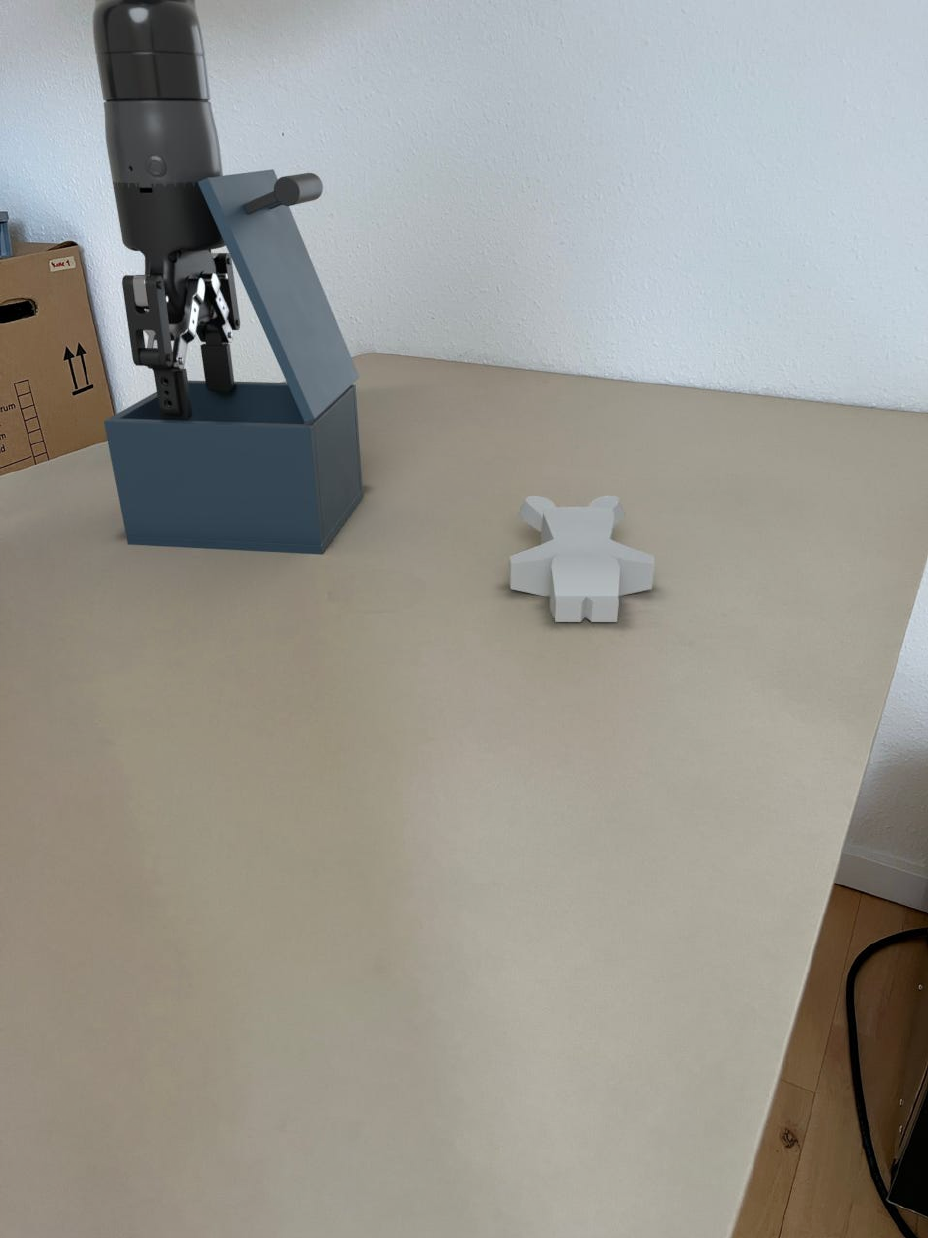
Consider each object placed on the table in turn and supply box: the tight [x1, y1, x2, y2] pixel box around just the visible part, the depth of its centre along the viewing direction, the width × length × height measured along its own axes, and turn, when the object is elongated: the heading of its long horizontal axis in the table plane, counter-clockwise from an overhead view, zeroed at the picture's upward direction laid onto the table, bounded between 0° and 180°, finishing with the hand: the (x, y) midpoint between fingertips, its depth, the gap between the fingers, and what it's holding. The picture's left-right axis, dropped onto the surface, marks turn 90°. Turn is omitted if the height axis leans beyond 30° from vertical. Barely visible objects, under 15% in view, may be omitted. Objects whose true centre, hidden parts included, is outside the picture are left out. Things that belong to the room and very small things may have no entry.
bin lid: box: [198, 169, 360, 423], centre depth 68 cm, size 16×13×5 cm
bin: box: [103, 380, 364, 556], centre depth 75 cm, size 16×13×10 cm
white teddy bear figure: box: [508, 495, 656, 623], centre depth 64 cm, size 10×5×15 cm
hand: (200, 404), depth 73 cm, fingers open, 8 cm apart
